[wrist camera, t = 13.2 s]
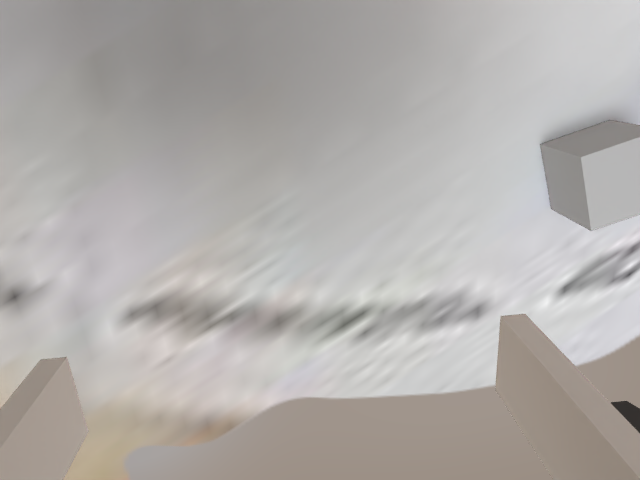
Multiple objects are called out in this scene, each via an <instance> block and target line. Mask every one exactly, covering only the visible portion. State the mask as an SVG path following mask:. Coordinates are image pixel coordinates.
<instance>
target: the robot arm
mask: <svg viewBox="0 0 640 480" xmlns="http://www.w3.org/2000/svg"><path fill="white" fill-rule="evenodd" d="M495 390H496V392H497V394H498V395H499V397H500V398H501V400H502V401H503V403H504V404H505V406H506V407H507V409H508V411H509V412H510V414H511V415H512V417H513V418H514V420H515V421H516V423H517V424H518V426H519V428H520V429H521V431H522V432H523V434H524V435H525V437H526V438H527V440H528V441H529V443H530V444H531V446H532V448H533V449H534V451H535V452H536V454H537V456H538V457H539V459H540V460H541V462H542V463H543V465H544V466H545V468H546V469H547V471H548V472H549V474H550V476H551V477H552V479H553V480H640V409H639V408H638V407H636V406H634V405H632V404H631V403H629V402H627V401H621V402H611V403H610V402H609V401H608V400H607V399H606V398H605V397H604V396H603V395H602V394H601V393H600V392H599V391H598V390H597V388H596V387H595V386H594V385H593V384H592V383H591V382H590V381H589V380H588V379H587V378H586V377H585V376H584V375H583V374H582V373H581V372H580V371H579V370H578V369H577V367H576V366H575V365H574V364H573V363H572V362H571V361H570V360H569V359H568V358H567V357H566V356H565V355H564V354H563V353H562V352H561V351H560V350H559V349H558V348H557V347H556V346H555V345H554V344H553V342H552V341H551V340H550V339H549V338H548V337H547V336H546V335H545V334H544V333H543V332H542V331H541V330H540V329H539V328H538V327H537V326H536V325H535V324H534V323H533V322H532V321H531V320H530V318H529V317H528V316H527V315H526V314H518V315H507V316H501V319H500V333H499V346H498V359H497V373H496V386H495ZM87 433H88V427H87V424H86V421H85V417H84V414H83V410H82V407H81V403H80V400H79V397H78V393H77V390H76V386H75V383H74V379H73V376H72V373H71V369H70V366H69V362H68V359H67V357H63V358H52V359H42V360H40V361H39V362H38V363H37V365H36V366H35V367H34V368H33V370H32V371H31V372H30V373H29V374H28V376H27V377H26V378H25V379H24V381H23V382H22V383H21V384H20V386H19V387H18V388H17V389H16V390H15V392H14V393H13V394H12V395H11V397H10V398H9V399H8V400H7V401H6V403H5V404H4V405H3V406H2V408H1V409H0V480H63V479H64V477H65V475H66V473H67V471H68V469H69V468H70V466H71V464H72V462H73V460H74V458H75V456H76V454H77V452H78V450H79V449H80V447H81V445H82V443H83V441H84V439H85V437H86V435H87Z"/></svg>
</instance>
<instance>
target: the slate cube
mask: <svg viewBox="0 0 640 480" xmlns="http://www.w3.org/2000/svg"><path fill="white" fill-rule="evenodd" d="M540 147H541V153H542V159H543V165H544V171H545V176H546V182H547V188H548V194H549V200H550V206H551V209H552V210H554V211H556V212H557V213H559V214H561V215H563V216H565V217H567V218H568V219H570V220H572V221H574V222H576V223H577V224H579V225H581V226H583V227H585V228H587V229H588V230H590V231H593V230H596V229H599V228H602V227H605V226H608V225H611V224H614V223H617V222H620V221H623V220H626V219H629V218H632V217H635V216H638V215H640V125H635V124H630V123H624V122H618V121H613V120H608V121H606V122H603V123H600V124H597V125H594V126H591V127H588V128H585V129H582V130H580V131H577V132H574V133H571V134H568V135H565V136H562V137H559V138H556V139H554V140H551V141H548V142H545V143H542V144H540Z"/></svg>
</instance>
